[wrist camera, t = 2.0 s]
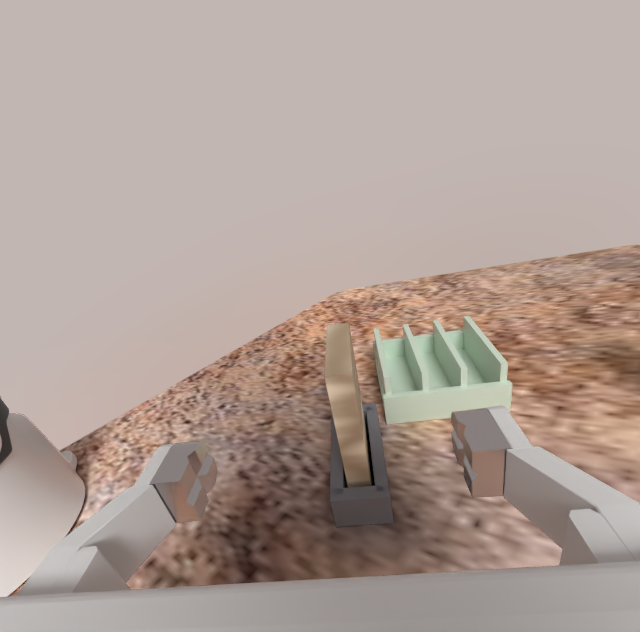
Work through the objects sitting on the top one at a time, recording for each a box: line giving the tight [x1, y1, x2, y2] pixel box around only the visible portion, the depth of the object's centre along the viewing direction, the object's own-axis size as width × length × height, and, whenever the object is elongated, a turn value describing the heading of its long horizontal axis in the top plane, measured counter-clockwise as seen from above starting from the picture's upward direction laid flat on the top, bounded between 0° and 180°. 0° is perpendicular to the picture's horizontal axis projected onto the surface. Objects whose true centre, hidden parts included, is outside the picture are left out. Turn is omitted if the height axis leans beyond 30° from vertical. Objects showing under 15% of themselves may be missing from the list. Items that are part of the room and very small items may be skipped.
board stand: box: [330, 403, 394, 527], centre depth 29 cm, size 4×10×3 cm, turn 177°
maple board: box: [324, 323, 373, 488], centre depth 27 cm, size 2×7×13 cm, turn 178°
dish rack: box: [373, 316, 512, 424], centre depth 37 cm, size 12×11×6 cm
